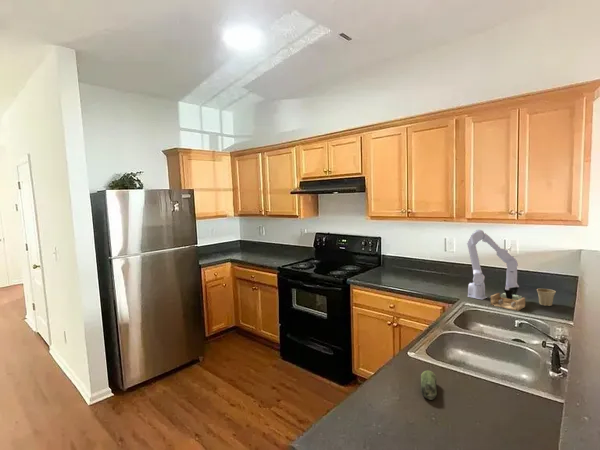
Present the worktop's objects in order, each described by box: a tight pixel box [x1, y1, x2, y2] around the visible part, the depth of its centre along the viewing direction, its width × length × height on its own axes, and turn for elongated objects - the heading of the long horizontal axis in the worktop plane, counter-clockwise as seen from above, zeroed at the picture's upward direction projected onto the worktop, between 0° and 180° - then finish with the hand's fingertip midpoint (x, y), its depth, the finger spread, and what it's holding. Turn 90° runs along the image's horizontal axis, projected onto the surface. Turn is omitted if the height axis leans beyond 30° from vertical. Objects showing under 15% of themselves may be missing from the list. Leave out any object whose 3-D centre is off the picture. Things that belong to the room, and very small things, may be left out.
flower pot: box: [536, 288, 557, 307], centre depth 205 cm, size 9×9×9 cm
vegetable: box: [420, 369, 438, 401], centre depth 116 cm, size 14×5×5 cm, turn 159°
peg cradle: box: [490, 292, 526, 312], centre depth 204 cm, size 15×11×6 cm
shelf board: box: [500, 292, 523, 300], centre depth 212 cm, size 10×5×4 cm, turn 39°
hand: (511, 299), depth 212 cm, fingers closed on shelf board, 5 cm apart
